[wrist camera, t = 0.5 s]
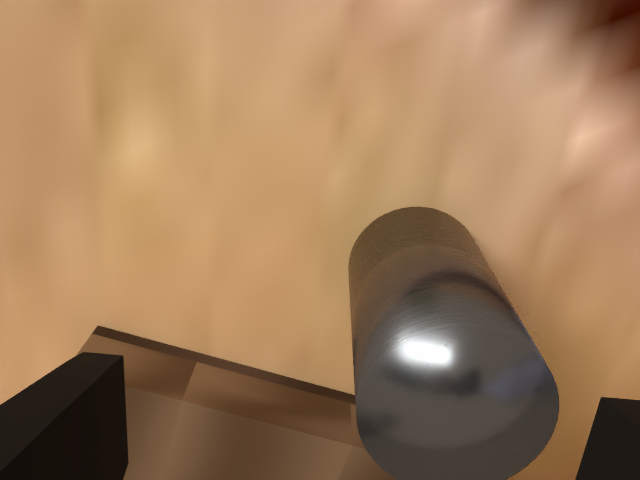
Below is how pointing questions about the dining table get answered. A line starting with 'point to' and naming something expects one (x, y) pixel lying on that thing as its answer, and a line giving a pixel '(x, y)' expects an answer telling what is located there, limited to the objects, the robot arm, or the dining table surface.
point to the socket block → (230, 419)
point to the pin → (442, 355)
